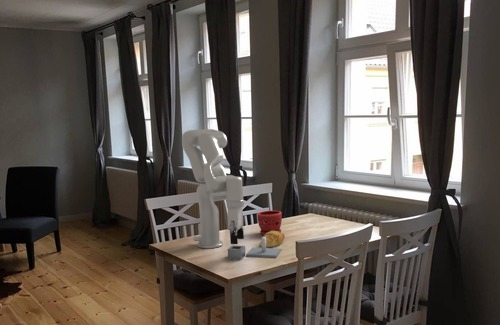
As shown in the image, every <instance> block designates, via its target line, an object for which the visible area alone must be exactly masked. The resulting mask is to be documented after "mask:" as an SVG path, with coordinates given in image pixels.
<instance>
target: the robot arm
mask: <svg viewBox="0 0 500 325" xmlns="http://www.w3.org/2000/svg"><path fill="white" fill-rule="evenodd" d="M227 145H228V139H227V135H226V134H225V133H224V132H223V131H221V130H217V129H212V128H211V129H209V128H206V129H205V128H204V129H191V130H187V131H185V132H183V134H182V136H181V146H182V149H183V151H184V153H185V155H186V156H187V158H188V160H189V164H190V167H191V170H192V173H193V176H194V179H195V181H196V182H198V183H202V184H199V185H198V186H197V188H196V197H197V202H198V207H199V208H198V209H199V225H200V226H199V228H200V229H199V230H200V232H199V233H200V235H199V236H196V235H195V236H194V235H193V238H192V239H193V242H198V243H197V246H198V247H199V248H202V249H215V248H219V247H221V246H223V244H224V242H223V240H220V213H219V207H218V206H217V205H216V204H215V202H219V201H224V200H226V209H227V230H228V231H229V236H230V237H229V238H230V240H229V242H230V244H231V245H238V243H239V241H238V240H244V238H245V235H244V232H245V231H244V212H243V208H244V207H245V206H244V205H245V204H244V203H245V202H244V192H243V191H244V190H243V187H244V186H243V178H242V177H241V176H235V175H233V174H230V175H229V174H228V175H227V173H226V169H225V167H224V166H223V165H222V161H224V155H223V153H222V150H221V149H224V148H225V147H226V146H227ZM198 147H199V148H198Z"/></svg>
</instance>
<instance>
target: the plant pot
mask: <svg viewBox="0 0 500 325" xmlns="http://www.w3.org/2000/svg"><path fill="white" fill-rule="evenodd" d="M282 214H283V213H282V211H280V210H279V211H278V210H265V211H259V212H257V214H256V215H257V223H258V226H259V229H260V230H259V233H260V234H261V235H263V236H264V235H265V234H266V233H267V232H270V231H278V232H280V233H282V230H281V227H282V219H283V218H282Z"/></svg>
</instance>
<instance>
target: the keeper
mask: <svg viewBox="0 0 500 325" xmlns="http://www.w3.org/2000/svg"><path fill="white" fill-rule="evenodd" d="M260 238H261V239H260V240H261V241H260V243H261V247H253V246H252V247H251V249H250V250H248V251H247V253H245V257H251V258H253V257H256V258H272V259H273V258H278V256H279V254H280V253H281V251H282V248H275V247H268V248H266V237H263V236H261V237H260Z"/></svg>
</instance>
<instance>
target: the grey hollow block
mask: <svg viewBox="0 0 500 325" xmlns="http://www.w3.org/2000/svg"><path fill="white" fill-rule="evenodd" d="M245 257H246V246H245V245H236V244H231V246H230V247H228V248H227V259H228V260H240V261H241V260H243V259H244V258H245Z"/></svg>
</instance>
